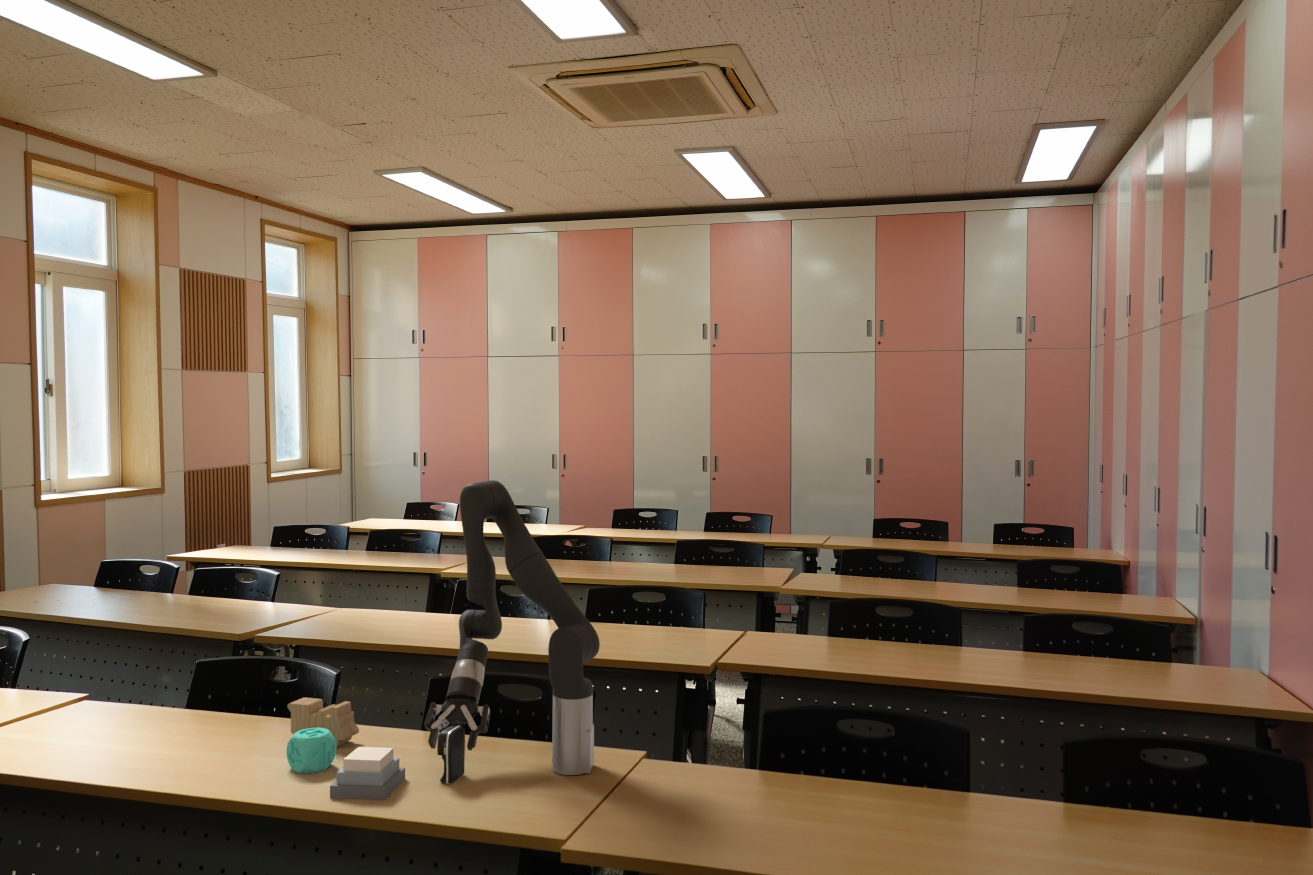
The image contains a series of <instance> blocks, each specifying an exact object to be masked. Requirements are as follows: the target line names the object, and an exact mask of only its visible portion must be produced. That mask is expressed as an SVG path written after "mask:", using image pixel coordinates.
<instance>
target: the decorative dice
mask: <svg viewBox="0 0 1313 875" xmlns="http://www.w3.org/2000/svg"><path fill="white" fill-rule="evenodd" d="M336 754H337V747H336V741H335V738H334V736H333V734H332V733H331V732H330V731H329V730H328V729H325V728H308V729H303V730H300V731H297V732H296V733H295V734H294V735H293V734H292V736H291V737H290V738H289V740H288V742H287V745H286V758H287V762H288V764H289V767H290V768H291V769H292V771H294V772H296V773H299V774H313V773H312V772H315V773H318V772H322V771H324V770H326V769H328V768H329V767H330V766H331V764H332V763H333V762H334V760H335V757H336Z"/></svg>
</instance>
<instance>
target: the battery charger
mask: <svg viewBox="0 0 1313 875" xmlns="http://www.w3.org/2000/svg"><path fill="white" fill-rule="evenodd" d="M464 727H465V726H463V725H450V726H447V727H445V728H443V729H442V730H441V731H439V733H438V734H439V735H438V739H437V745H436V747H437V748H436V749H437V751H436V752H437V756H441V759H442V761H443V773H442V776H441V778H440V779H439V781H440V783H442V784H447V785H448V784H453V783H454V782H456V781H457V780H458V779H460V778H461V777H463V775H464V774H465V760H466V759H465V756H466V755H465V754H466V752H465V751H466V748H465V747H466V731H465V728H464Z"/></svg>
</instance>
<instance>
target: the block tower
mask: <svg viewBox="0 0 1313 875" xmlns="http://www.w3.org/2000/svg"><path fill="white" fill-rule="evenodd" d="M342 765H343V767H341V768H339V769H338V771H337V772H336V780H334V781H333V783H331V784H330V785H329V798H331V799H350V800H351V799H354V800H355V799H356V800H377V801H380V800H381V801H383V800H384V801H386V799H388V797H389V796H391V794H393V792H394V791H395V790H396V789H397V788H398V787H400V785H401V784H402V783H403V782H404V780H406V767H400V757H394V747H377V746H375V747H373V746H358V747H356V748H355V749H354V750H353V751H351V752H350V753H349V754H348V755H347V756H345V757H344V758H343V762H342Z"/></svg>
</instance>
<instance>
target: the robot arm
mask: <svg viewBox="0 0 1313 875" xmlns="http://www.w3.org/2000/svg"><path fill="white" fill-rule="evenodd" d="M514 502H515V501H513V499H512V496H511V494H510V493H509V490H508V489H507V488H506V487H505V485H504V484H503V483H501V481H498V480H491V479H489V480H483V481H478V482H472V483H468V484H466V485H465V486H464V487H463V488H462V490H461V492H460V495H459V511H460V518H461V519H460V520H461V525H462V534H463V540H464V546H465V555H466V598H467V600H468V601H469V602H472V603H474V604H477V605H480V606H482V607H483V608H484V610H483V609H466V610H465V611H464V612H462V613H461V615H460V616H459V619H458V629H459V630H458V632H459V650H458V654H457V658H456V661H455V665H454V667H453V670H452V673H451V676H450V681H449V683H448V689H447V691H446V692H447V693H446V696H445V701H444V703H442V704H436V702H435V701H432V702H430V705H429V708H428V711H427V714H426V716H425V719H424V722H423V725H424V726H425V727H424V728H425V729H426V731H427V732H428V731H429V736H428V741H427V743H428V744H429V746H430V749H432V750H434V749H436V747H437V744H438V736H439V734H440V732H441V731H443V730H444V729H446V728H447V727H448V726H449V724H450V726H457V725H458V726H465V725H466V724H468V727H469V729H471V730H470V731H469V736H468V740H467V744H466V749H467V750H468V751H473V749H474V748H476V745H477V741H478V737H479V735H480V734H482V733H483V734H486V733H487V732H488V729H489V724H490V723H489V722H490V716H491V710H490V707H489V706H490V705H489V704H487V703H486V704H484V705H483V706H479V705H478V704H479V700H480V696H481V692H482V688H483V685H484V679H485V669H486V665H487V661H488V657H489V656H488V655H489V648H488V646H487V645H486V644H485V643H483V642H481V641H479V639H480V640H494V639H497V638H498V637H499V636H500V634H501V632H502V628H503V622H502V615H501V614H500V613H501V612H500V610H499V606H498V602H497V601H498V600H497V594H496V584H497V583H496V580H497V577H496V575H497V573H496V565H495V561H494V557H492V554H491V552H490V549H489V548H488V545H487V543H486V540H485V535H484V526H485V524H484V523H485V520H487V519H492V520H493V521H494V522H495V525H496V526H497V527H498V529H499V531H500V533H501V535H502V537H503V541H504V562H505V567H506V569H507V571H508V574H509V575H510V577H511V579H512V580H513V582H514V584H515V585H516V586H517V589H518V590H519V591H520V592H521V594H523V595H524V596H525V597H526V598H527V599H529V601H531V602H532V603H534V604H535V605H536V606H537V607H538V608H540V609H542V610H543V611H544V612H545V613H546V614H547V615H548V616H549V617H550V618H551V620H552V621H553V622H554V624H555V625H556V627H557V629H555V630H554V631H553V632H552V634H551V635H550V637H549V641H548V648H547V650H548V651H547V652H548V674H549V681H550V682H549V683H550V685H551V688H552V732H551V733H552V738H551V739H552V742H551V746H552V747H551V750H552V751H551V752H552V755H551V764H552V765H551V767H552V768H551V769H552V771H553V772H554V773H557V774H559V775H564V776H577V775H583V774H591V772H592V769H593V767H594V765H595V761H594V760H595V759H594V757H595V724H594V723H593V709H594V708H593V703H594V702H593V701H594V700H593V699H594V696H593V695H594V694H593V693H594V692H593V691H594V686H593V685H594V684H593V682H592V680H590V679H589V678H586V677H584V663H586V662H588V661H590V660H592V659H594V658H595V657H596V656H597V655H598V653H599V651H600V645H601V644H600V643H601V642H600V639H599V638H600V637H599V634H598V632H597V630H596V628H594V626H593V625H592V623H591V622H590V620H588V618H587V617H586V615H585V614H584V613H583V612H582V611H581V609H580V608H579V607H578V605H577V604H576V603H575V602H574V600H573V599H572V597H571V596H570V594H569V593H568V591H567V589H566V588H565V586H564V585H563V584H562V582H561V580H560V579H559V578H558V575H557V574H556V573H555V571H554V569H553V567H552V566H551V564H550V562H549V560H548V559H547V558H546V556H545V555H544V553H543V551H542V550H541V548H540V547H539V546H538V544H537V543H536V541H535V539H534V537H533V535H532V534H531V533H530V531H529V529H528V528H527V526H526V525H525V522H524V520H523V518H522V517H521V514H520V512H519V510H518V508H517V507H516V505H515V503H514ZM476 639H477V640H476ZM441 711H442V714H440V715H439V713H440V712H441ZM478 713H479V714H480V716H481V718H480V725H477V724H476V722H475V720H474V717H475V716H476V715H478ZM436 716H438V718H437V720H436V721H435V719H436Z"/></svg>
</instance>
